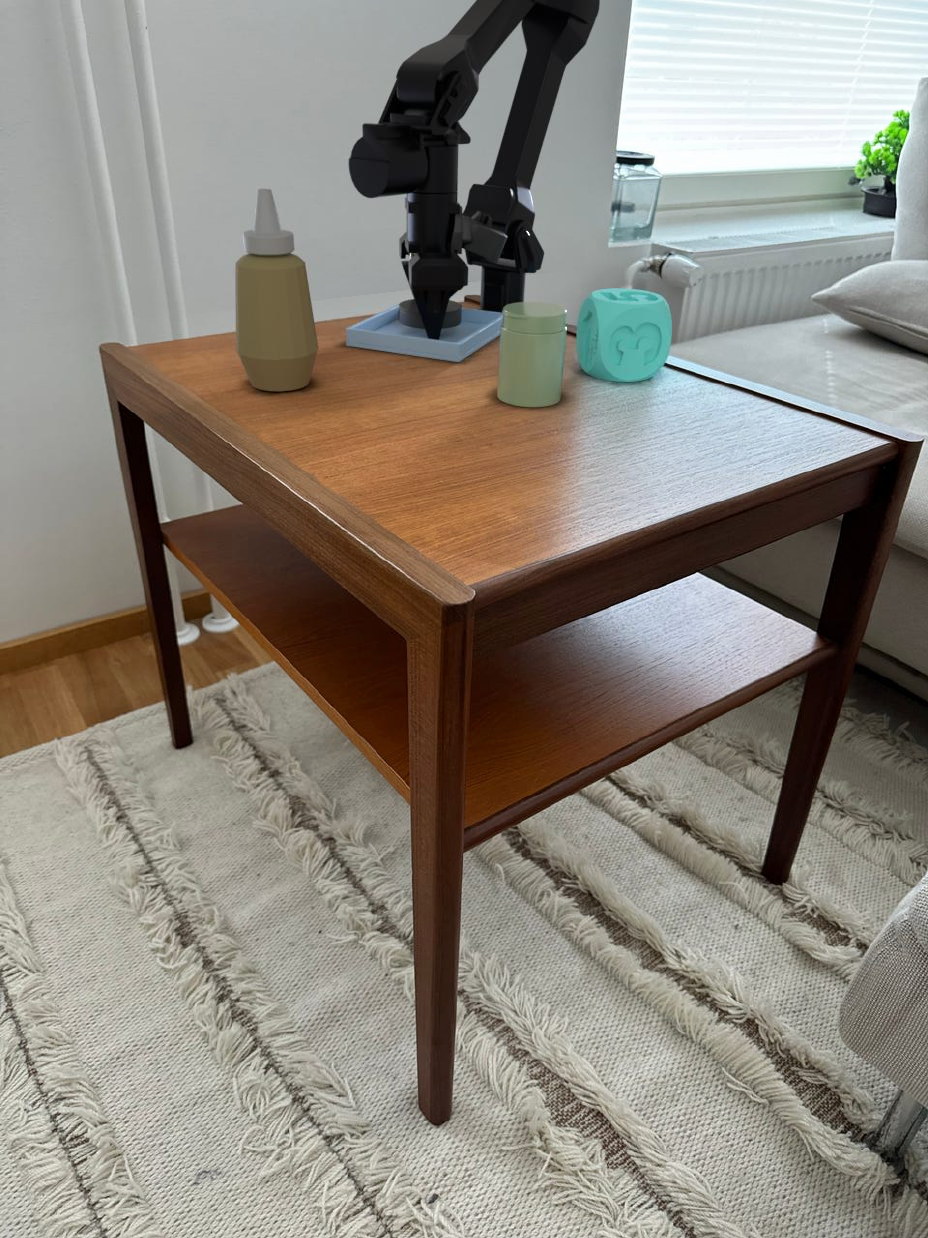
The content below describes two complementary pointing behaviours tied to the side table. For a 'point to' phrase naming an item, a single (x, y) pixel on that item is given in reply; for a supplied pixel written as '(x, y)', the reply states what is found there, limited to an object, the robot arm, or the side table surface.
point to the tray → (402, 339)
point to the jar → (531, 354)
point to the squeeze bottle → (273, 305)
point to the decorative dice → (623, 334)
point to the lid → (413, 319)
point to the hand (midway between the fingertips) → (430, 333)
